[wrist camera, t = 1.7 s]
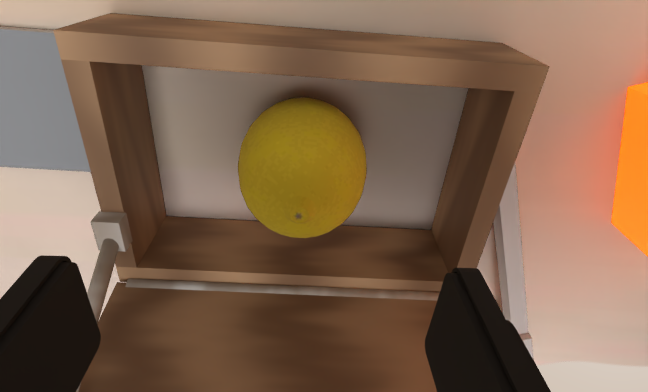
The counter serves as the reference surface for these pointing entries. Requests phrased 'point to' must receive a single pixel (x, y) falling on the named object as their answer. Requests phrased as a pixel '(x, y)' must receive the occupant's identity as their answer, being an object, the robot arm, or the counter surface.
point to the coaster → (36, 104)
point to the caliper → (512, 261)
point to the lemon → (302, 167)
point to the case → (259, 241)
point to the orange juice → (633, 170)
